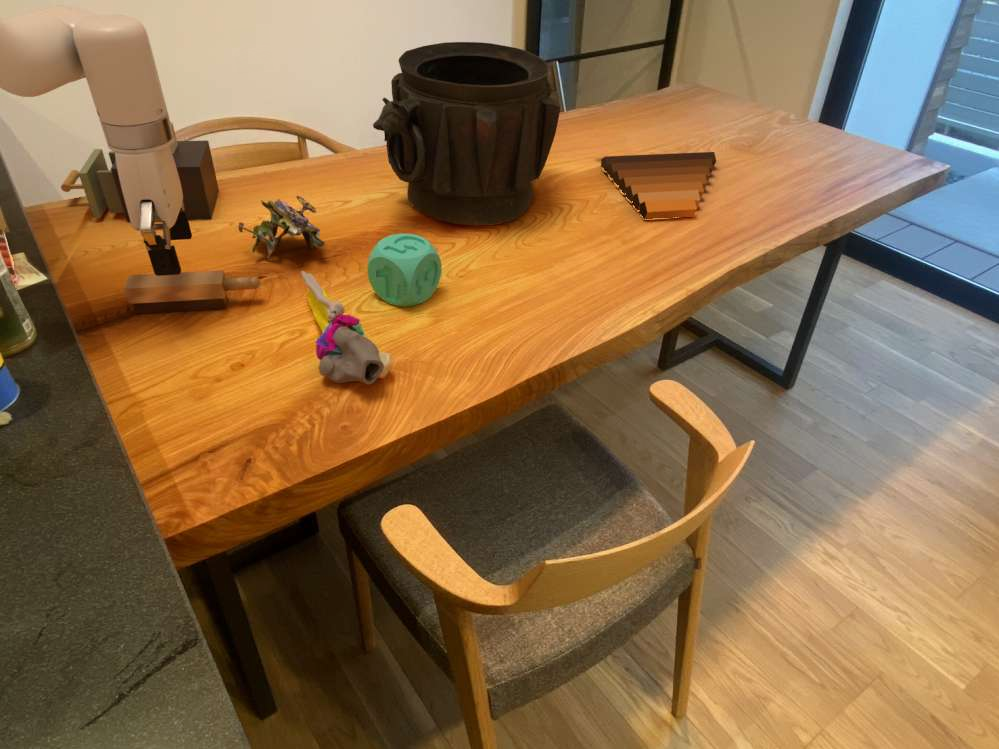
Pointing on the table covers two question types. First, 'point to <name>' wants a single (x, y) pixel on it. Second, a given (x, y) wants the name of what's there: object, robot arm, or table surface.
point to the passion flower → (285, 225)
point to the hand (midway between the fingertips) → (174, 255)
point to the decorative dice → (404, 269)
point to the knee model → (343, 341)
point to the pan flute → (662, 181)
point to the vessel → (469, 129)
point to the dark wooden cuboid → (189, 179)
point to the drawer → (96, 184)
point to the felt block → (174, 145)
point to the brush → (183, 291)
